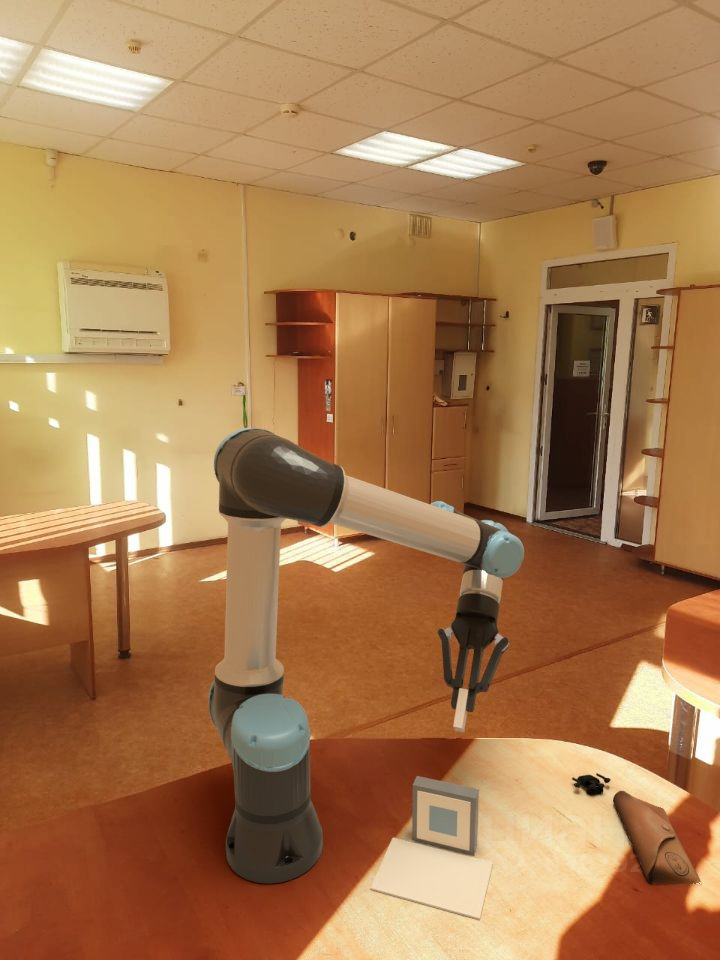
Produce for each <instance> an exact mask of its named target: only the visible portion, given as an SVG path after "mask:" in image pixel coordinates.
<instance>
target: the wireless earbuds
mask: <svg viewBox="0 0 720 960" xmlns="http://www.w3.org/2000/svg"><path fill="white" fill-rule="evenodd" d="M595 775H596V776H594V775H592V774H585V775H579V776H578V777H577V778H576V777H571V780H572V781H574V783H573V786H574V787H575V788H578V789H581V788H582V787H584V788H585V792H586V794H587V795H588V796H596V794H597V795H601V794H602V793H603V792H604V787H605V784H609V783H610V781H611V778H610V777H605V775H602V774H600V773H597V772H596V774H595ZM598 777H599V778H600V779H602V780H603V782H604V783H603V782H601V781H600V779H599V778H598Z"/></svg>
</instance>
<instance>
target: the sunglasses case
mask: <svg viewBox="0 0 720 960" xmlns="http://www.w3.org/2000/svg"><path fill="white" fill-rule="evenodd" d="M612 802H613V805H614V808H615V810H616V813H617V815H618V816H619V818H620V821H621V823H622V825H623V827H624V830H625V831H626V834H627V837H628V839H629V841H630V843H631V845H632V848H633V849H634V852H635V854H636V857H637V860H638V861H639V864H640V866H641V869H642V871H643V873H644V876H645V878H646V879H647V881H648V882H649V883H650V885H651V886H652V885H669V884H689V885H688V886H691V885H690V884H693V883H694V884H695V885H697V884H696V883H699V882H701V883H702V881H701V879H700V876H699V874H698V873H697V870H696V868H695V867H694V865H693V863H692V861H691V860H690V858H689V856H688V854H687V852H686V850H685V849H684V847H683V845H682V843H681V840H680V838H679V837H678V834H677V832H676V831H675V828H674V827H673V825H672V823H671V821H670V818H669V817H668V814H667V812H666V811H665V808H664V807H662V808H661V806H657V805H655V804H653V803H650V802H648V801H644V800H642V799H640V798H638V797H635V796H633V795H631V794H629V792H626V791H625V790H618V791H617V792H616V793H615V794H614V795H613V799H612ZM699 884H700V883H699Z"/></svg>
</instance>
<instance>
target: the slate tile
mask: <svg viewBox="0 0 720 960" xmlns="http://www.w3.org/2000/svg"><path fill="white" fill-rule="evenodd" d="M479 798H480V789H479V788H476V787H475V788H474V787H470V786H466V785H462V784H461V785H460V784H457V783H450V782H446V781H443V780H439V779H433V778H429V777H424V776H419V775H416V777H415V779H414V782H413V783H412V809H411V810H412V815H411V817H412V818H411V819H412V821H411V823H412V827H411V828H412V830H411V833H412V834H411V836H412V837H411V839H412V840H411V842H412V841H413V842H415V843H416V842H418V843H419V844H420V843H421V844H423V845H425V844H426V845H427V846H431V847H433V846H434V847H435V848H441V849H444V850H449V851H452V852H453V851H454V852H456V853H460V854H465V855H468V856H472V857H473V856H475V855H476V852H477V848H478V847H477V846H478V836H479V835H478V834H479V832H478V829H479V828H478V827H479V802H480V801H479Z"/></svg>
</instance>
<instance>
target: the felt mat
mask: <svg viewBox="0 0 720 960" xmlns="http://www.w3.org/2000/svg"><path fill="white" fill-rule="evenodd" d="M493 866H494V862H492V861H490V860H489V861H488V860H486V859H482V858H478V857H473V856H471V855H466V854H465V855H464V854H462V853H458V852H453V851H450V850H449V851H448V850H446V849H442V848H441V849H440V848H438V847H433V846H430V845H425V844H422V843H421V844H420V843H416V842H414V841H413V842H412V841H408V840H406V839H405V840H404V839H401V838H396V837H392V838H391V841H390V843H389V845H388V848H387V849H386V852H385V854H384V856H383V859H382V860H381V863H380V865H379V866H378V870H377V872H376V874H375V877H374V879H373V880H372V884H371V885H370V888H369V890H371V891H373V892H376V893H381V894H384V895H388V896H392V897H394V898H395V897H396V898H398V899H401V900H402V899H403V900H406V901H410V902H413V903H417V904H420V905H423V906H427V907H431V908H435V909H438V910H442V911H446V912H450V913H451V914H455V915H456V914H457V915H460V916H463V917H467V918H471V919H474V920H476V921H477V920H478V921H481V918H482V917H481V916H482V913H483V908H484V905H485V900H486V896H487V891H488V887H489V883H490V878H491V874H492V869H493Z"/></svg>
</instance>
